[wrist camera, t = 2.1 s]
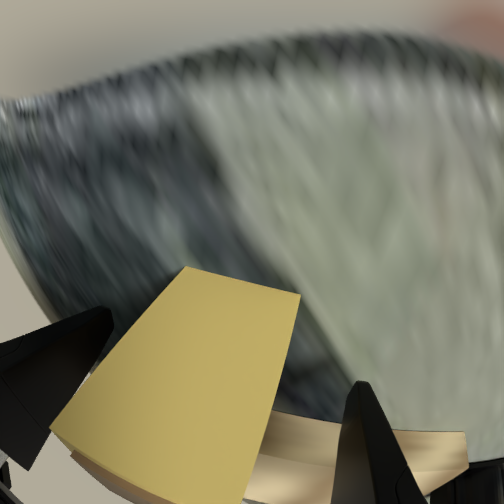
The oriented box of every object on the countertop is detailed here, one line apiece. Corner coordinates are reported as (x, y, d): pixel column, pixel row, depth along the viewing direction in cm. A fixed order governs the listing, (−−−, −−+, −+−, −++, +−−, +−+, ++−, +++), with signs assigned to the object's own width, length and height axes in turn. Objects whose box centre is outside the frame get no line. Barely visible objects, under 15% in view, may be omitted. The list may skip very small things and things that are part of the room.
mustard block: (300, 294, 9) (231, 528, 3) (279, 372, 11) (224, 539, 5) (185, 266, 10) (44, 433, 4) (188, 345, 12) (101, 486, 6)
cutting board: (464, 431, 10) (468, 467, 8) (387, 488, 15) (385, 514, 13) (238, 401, 13) (221, 442, 11) (228, 464, 18) (218, 490, 15)
